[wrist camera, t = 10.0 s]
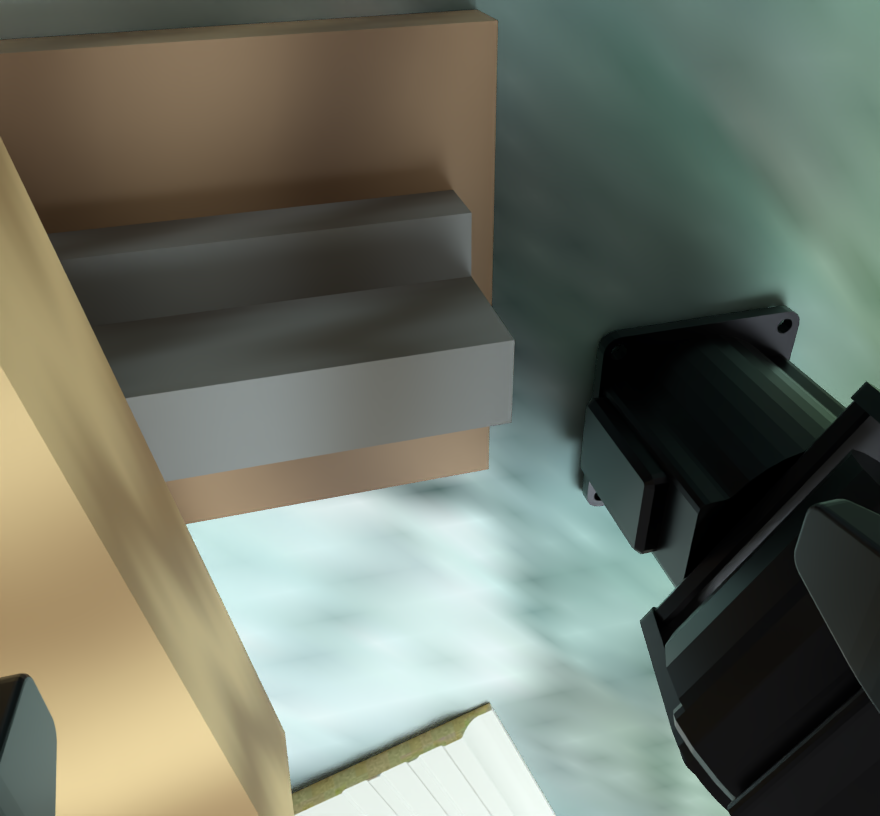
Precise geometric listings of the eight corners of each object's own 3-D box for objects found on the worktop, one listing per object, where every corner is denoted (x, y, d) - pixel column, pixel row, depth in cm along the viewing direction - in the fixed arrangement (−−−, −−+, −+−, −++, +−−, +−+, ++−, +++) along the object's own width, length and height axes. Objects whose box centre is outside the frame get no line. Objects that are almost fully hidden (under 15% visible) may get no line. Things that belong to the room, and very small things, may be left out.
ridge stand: (477, 9, 18) (583, 65, 13) (473, 439, 25) (543, 579, 20) (-626, 78, 14) (-1047, 196, 9) (-268, 568, 21) (-403, 780, 16)
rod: (284, 731, 21) (302, 891, 18) (148, 776, 20) (142, 947, 17) (-193, -268, 9) (-403, -338, 6) (-542, -213, 8) (-977, -251, 5)
